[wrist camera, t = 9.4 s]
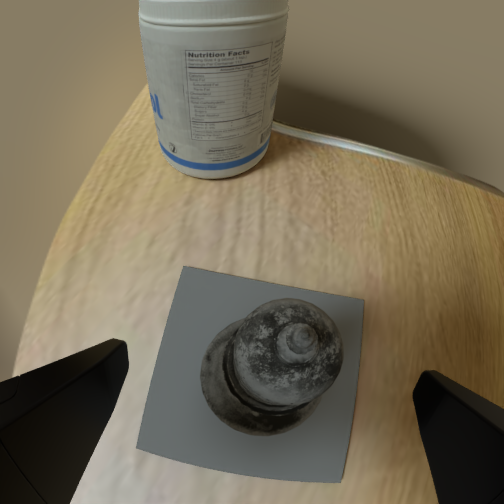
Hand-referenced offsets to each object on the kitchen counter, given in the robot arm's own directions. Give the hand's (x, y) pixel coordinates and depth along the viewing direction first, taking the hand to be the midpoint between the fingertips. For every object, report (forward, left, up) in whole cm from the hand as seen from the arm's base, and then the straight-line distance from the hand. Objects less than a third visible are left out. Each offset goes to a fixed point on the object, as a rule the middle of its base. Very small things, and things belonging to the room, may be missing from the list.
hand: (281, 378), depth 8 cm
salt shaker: (+1, 0, -9) cm, 9 cm away
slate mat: (+1, 0, -10) cm, 10 cm away
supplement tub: (+19, +7, -10) cm, 22 cm away
